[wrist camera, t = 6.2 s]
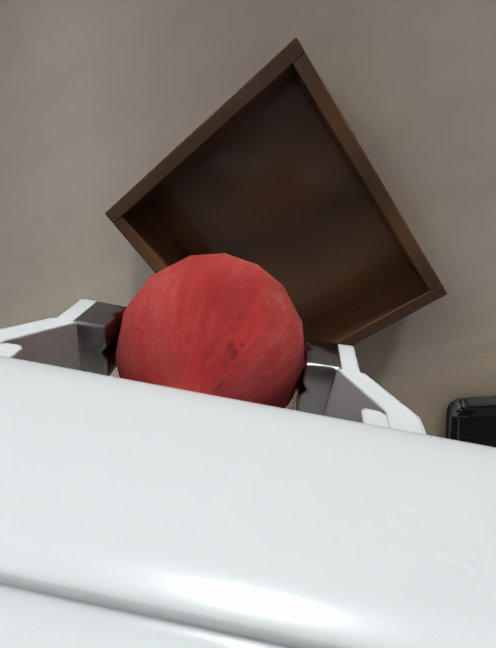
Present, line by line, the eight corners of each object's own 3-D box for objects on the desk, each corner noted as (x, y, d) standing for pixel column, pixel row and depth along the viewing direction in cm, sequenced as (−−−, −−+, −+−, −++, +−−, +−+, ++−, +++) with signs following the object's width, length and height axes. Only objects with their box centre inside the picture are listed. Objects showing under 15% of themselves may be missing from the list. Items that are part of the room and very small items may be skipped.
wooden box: (137, 200, 29) (104, 213, 24) (297, 56, 24) (296, 36, 19) (265, 358, 34) (259, 395, 29) (423, 267, 28) (447, 294, 24)
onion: (327, 334, 16) (348, 504, 8) (208, 379, 17) (143, 550, 10) (263, 202, 14) (221, 280, 6) (135, 269, 15) (-7, 388, 8)
